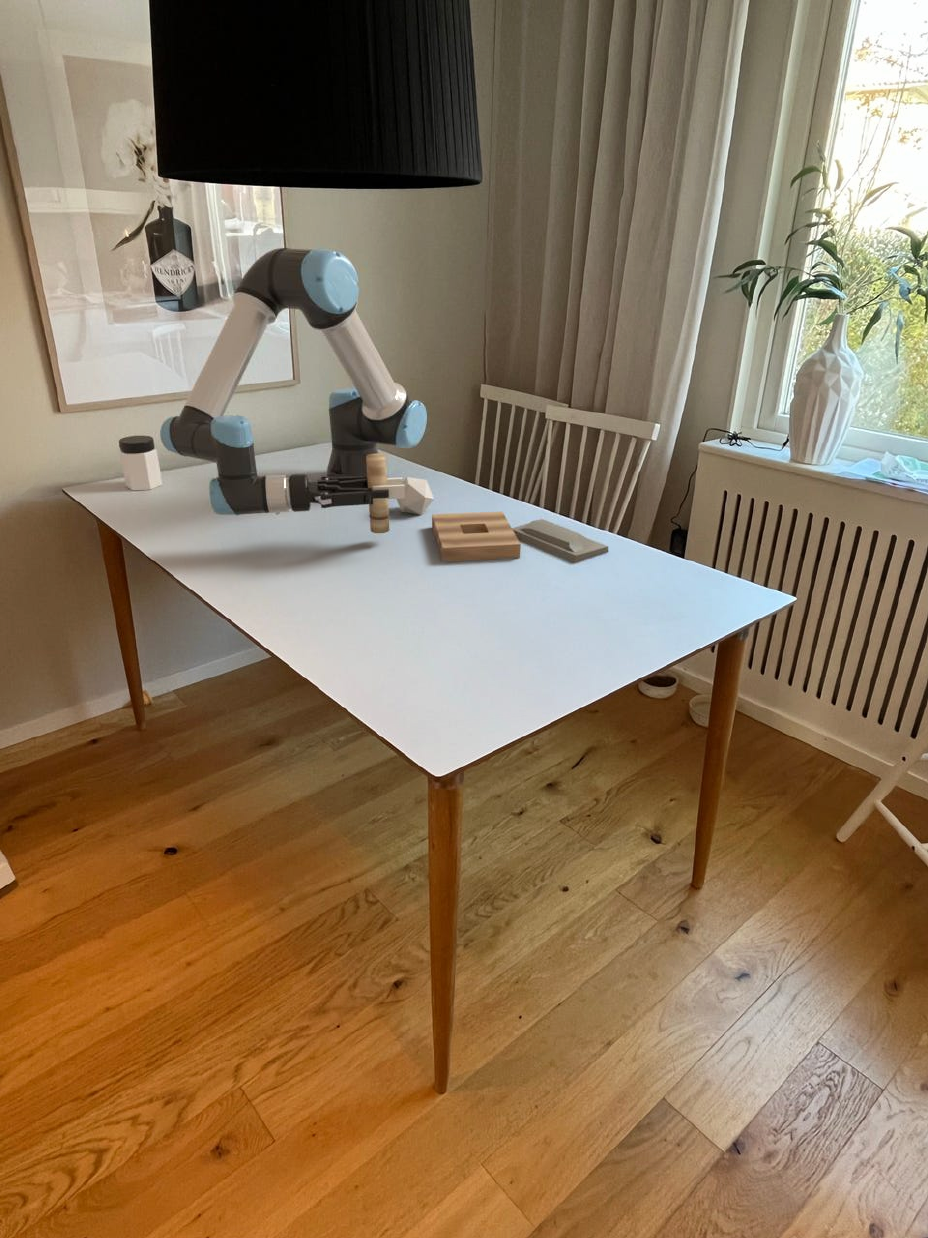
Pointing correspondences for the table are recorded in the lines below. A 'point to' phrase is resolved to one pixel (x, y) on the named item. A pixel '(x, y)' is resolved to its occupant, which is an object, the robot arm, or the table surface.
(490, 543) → the board
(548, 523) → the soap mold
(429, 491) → the die
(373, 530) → the oak leg
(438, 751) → the table surface
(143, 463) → the jar
